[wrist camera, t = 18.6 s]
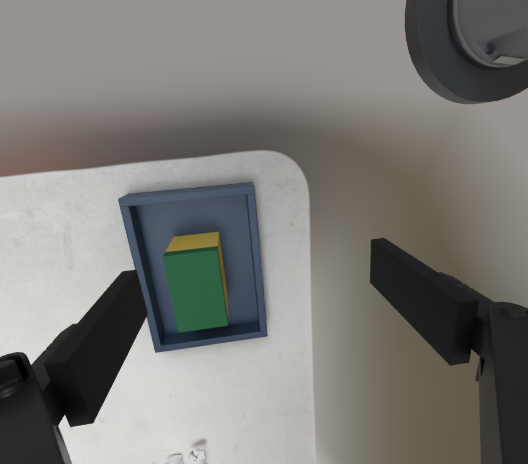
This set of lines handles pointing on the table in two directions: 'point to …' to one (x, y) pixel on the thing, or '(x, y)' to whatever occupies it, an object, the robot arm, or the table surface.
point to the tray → (188, 223)
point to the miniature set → (176, 462)
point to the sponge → (197, 281)
